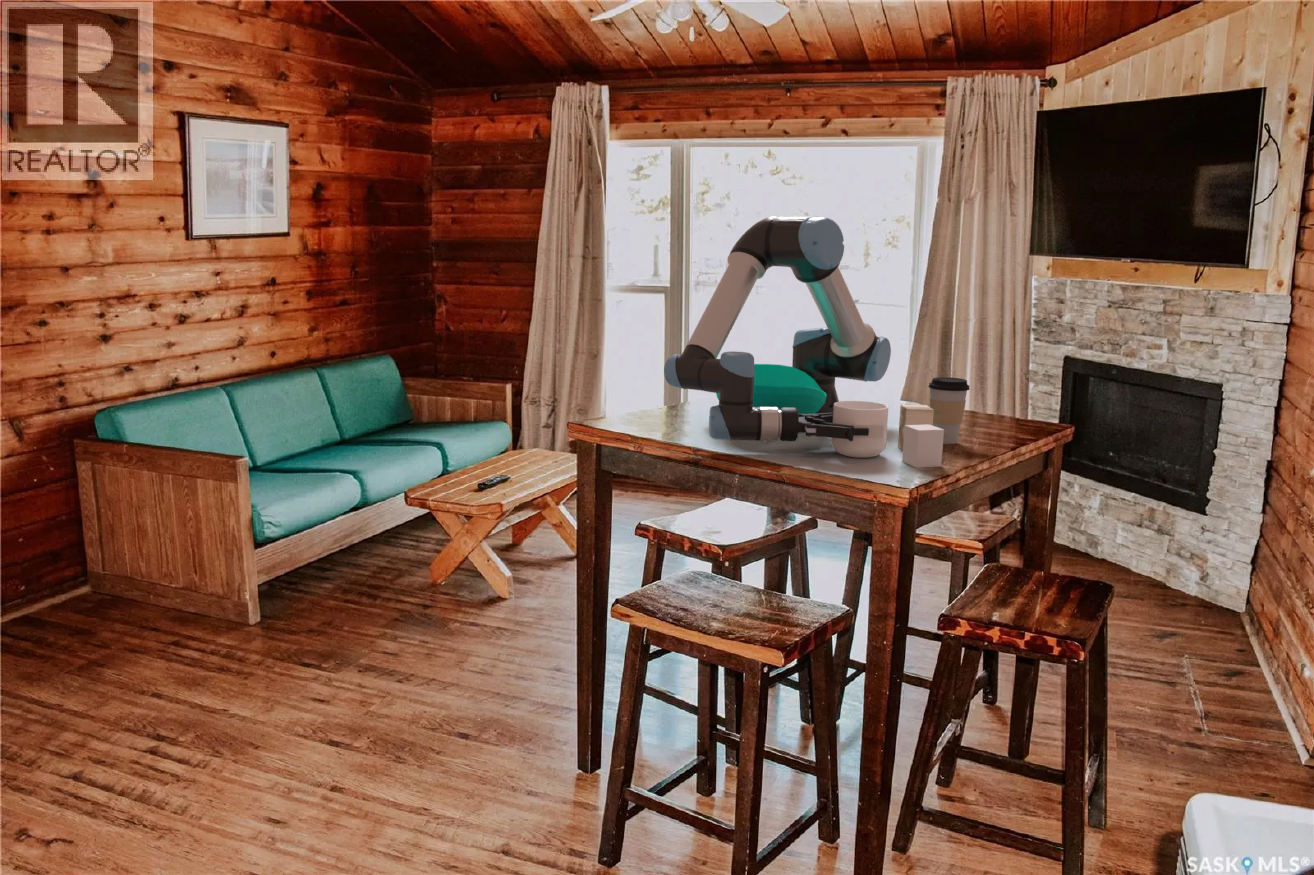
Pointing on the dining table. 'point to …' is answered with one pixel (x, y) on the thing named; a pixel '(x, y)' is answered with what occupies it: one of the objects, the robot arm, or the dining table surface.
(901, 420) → the birch block
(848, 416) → the handleless ceramic cup
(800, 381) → the table top decor
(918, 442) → the pale pink block
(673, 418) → the dining table surface
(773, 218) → the robot arm
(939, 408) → the coffee cup
